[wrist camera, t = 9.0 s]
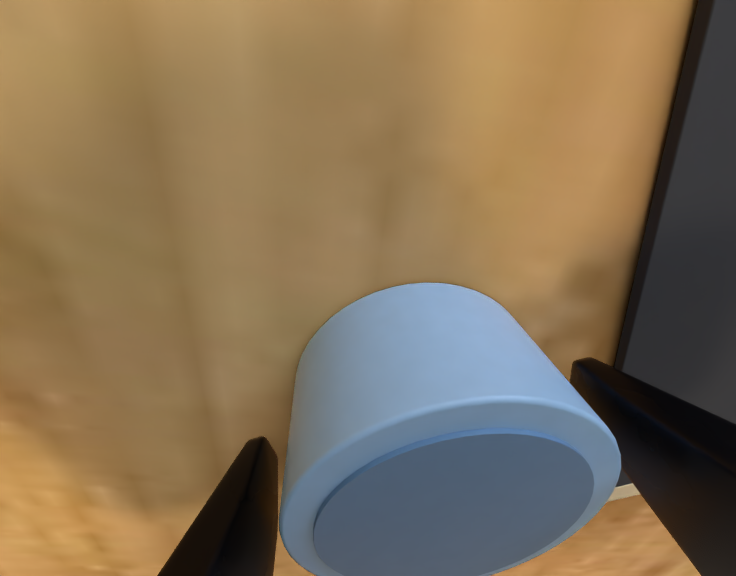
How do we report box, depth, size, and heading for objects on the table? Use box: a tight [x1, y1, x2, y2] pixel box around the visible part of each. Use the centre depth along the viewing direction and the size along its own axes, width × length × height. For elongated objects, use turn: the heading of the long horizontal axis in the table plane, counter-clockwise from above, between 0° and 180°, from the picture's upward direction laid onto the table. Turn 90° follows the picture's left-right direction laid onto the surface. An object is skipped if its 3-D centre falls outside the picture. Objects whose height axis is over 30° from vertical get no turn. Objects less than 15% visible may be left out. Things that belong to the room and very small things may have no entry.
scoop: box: [279, 282, 621, 576], centre depth 9 cm, size 12×6×4 cm, turn 13°
